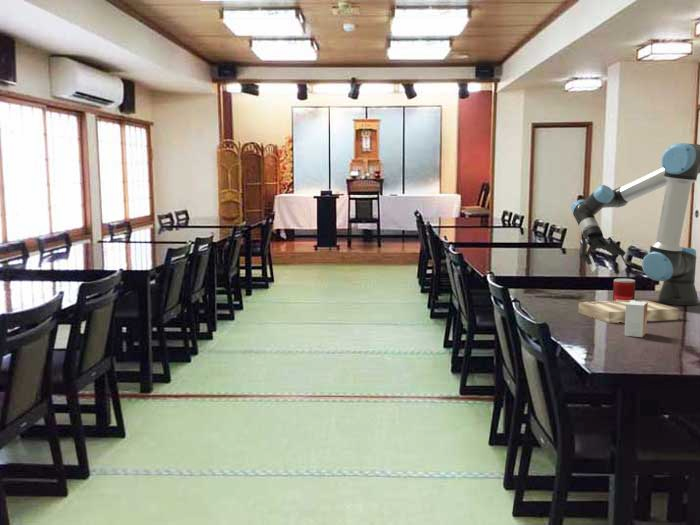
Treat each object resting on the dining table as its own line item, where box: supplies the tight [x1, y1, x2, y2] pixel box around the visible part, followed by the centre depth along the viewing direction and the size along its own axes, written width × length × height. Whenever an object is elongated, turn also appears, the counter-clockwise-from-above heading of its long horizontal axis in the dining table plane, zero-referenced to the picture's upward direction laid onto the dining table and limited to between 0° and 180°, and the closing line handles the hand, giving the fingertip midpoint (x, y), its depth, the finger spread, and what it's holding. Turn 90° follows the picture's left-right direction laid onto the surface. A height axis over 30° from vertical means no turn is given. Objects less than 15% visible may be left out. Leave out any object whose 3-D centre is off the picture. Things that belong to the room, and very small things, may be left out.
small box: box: [624, 301, 648, 338], centre depth 222 cm, size 8×6×10 cm
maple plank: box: [578, 299, 680, 324], centre depth 253 cm, size 28×20×4 cm
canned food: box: [612, 278, 636, 301], centre depth 271 cm, size 8×8×11 cm
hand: (609, 269), depth 279 cm, fingers open, 13 cm apart
